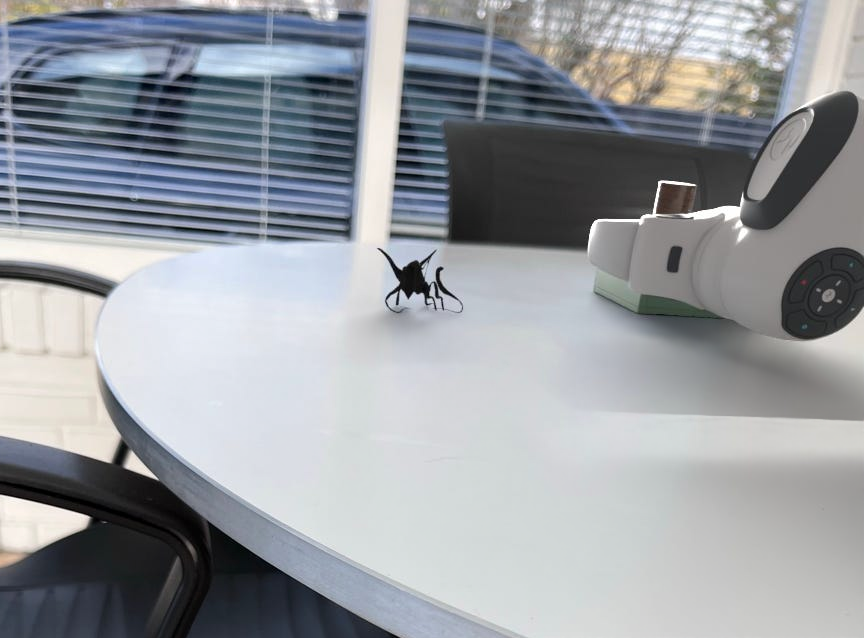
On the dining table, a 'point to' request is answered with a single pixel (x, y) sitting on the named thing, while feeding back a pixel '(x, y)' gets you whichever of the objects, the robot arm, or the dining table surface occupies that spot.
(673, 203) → the brown cylinder
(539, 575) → the dining table surface
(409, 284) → the creature
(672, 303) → the grid
